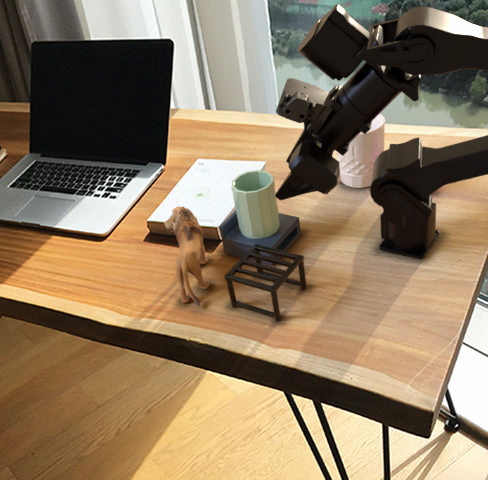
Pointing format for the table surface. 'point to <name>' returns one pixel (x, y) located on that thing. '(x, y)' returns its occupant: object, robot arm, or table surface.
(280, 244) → the shelf
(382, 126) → the white cup
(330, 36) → the robot arm
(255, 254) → the rack
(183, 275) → the lion figurine
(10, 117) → the table surface
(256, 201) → the tumbler
